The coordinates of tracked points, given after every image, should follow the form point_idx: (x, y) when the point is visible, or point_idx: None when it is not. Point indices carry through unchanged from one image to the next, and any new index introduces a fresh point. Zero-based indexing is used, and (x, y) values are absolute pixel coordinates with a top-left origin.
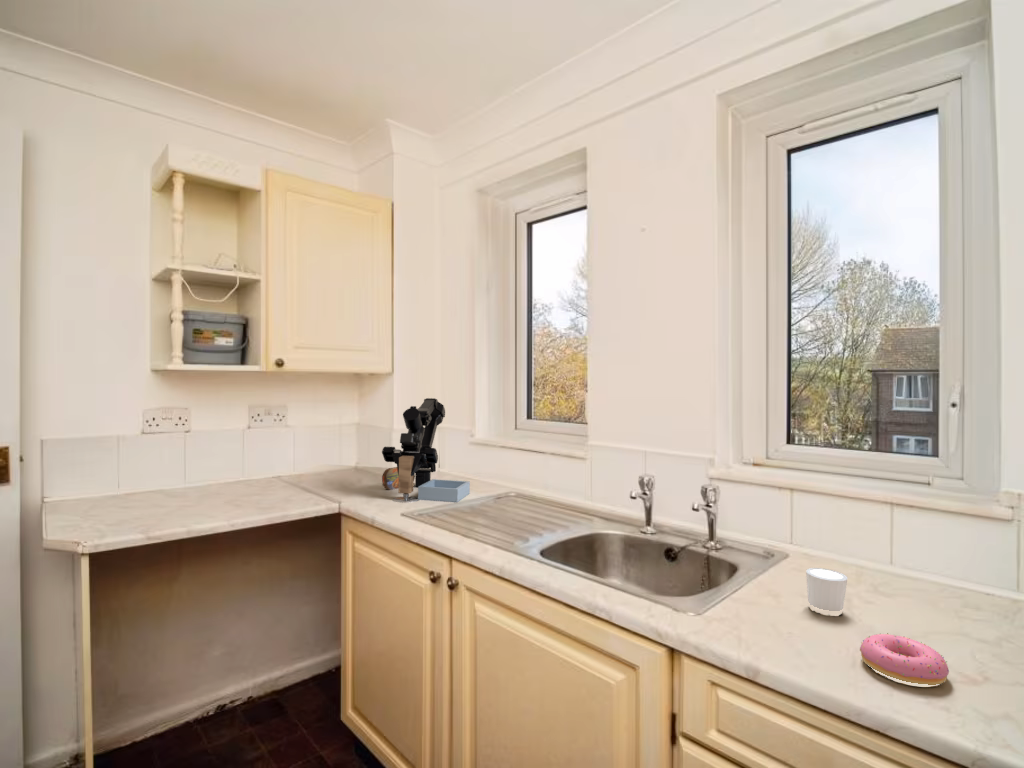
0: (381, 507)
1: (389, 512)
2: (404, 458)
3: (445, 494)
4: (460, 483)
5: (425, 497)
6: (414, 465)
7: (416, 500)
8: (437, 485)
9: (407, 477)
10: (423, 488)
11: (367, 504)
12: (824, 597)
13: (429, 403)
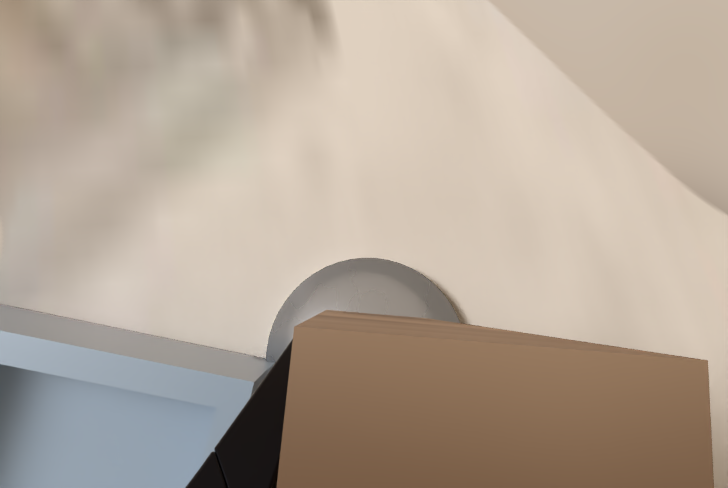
0: (485, 168)
1: (405, 54)
2: (504, 343)
3: (5, 318)
4: None
5: (208, 353)
6: (247, 454)
7: (282, 331)
8: None
9: (359, 315)
10: (202, 369)
11: (597, 240)
12: None
13: None
